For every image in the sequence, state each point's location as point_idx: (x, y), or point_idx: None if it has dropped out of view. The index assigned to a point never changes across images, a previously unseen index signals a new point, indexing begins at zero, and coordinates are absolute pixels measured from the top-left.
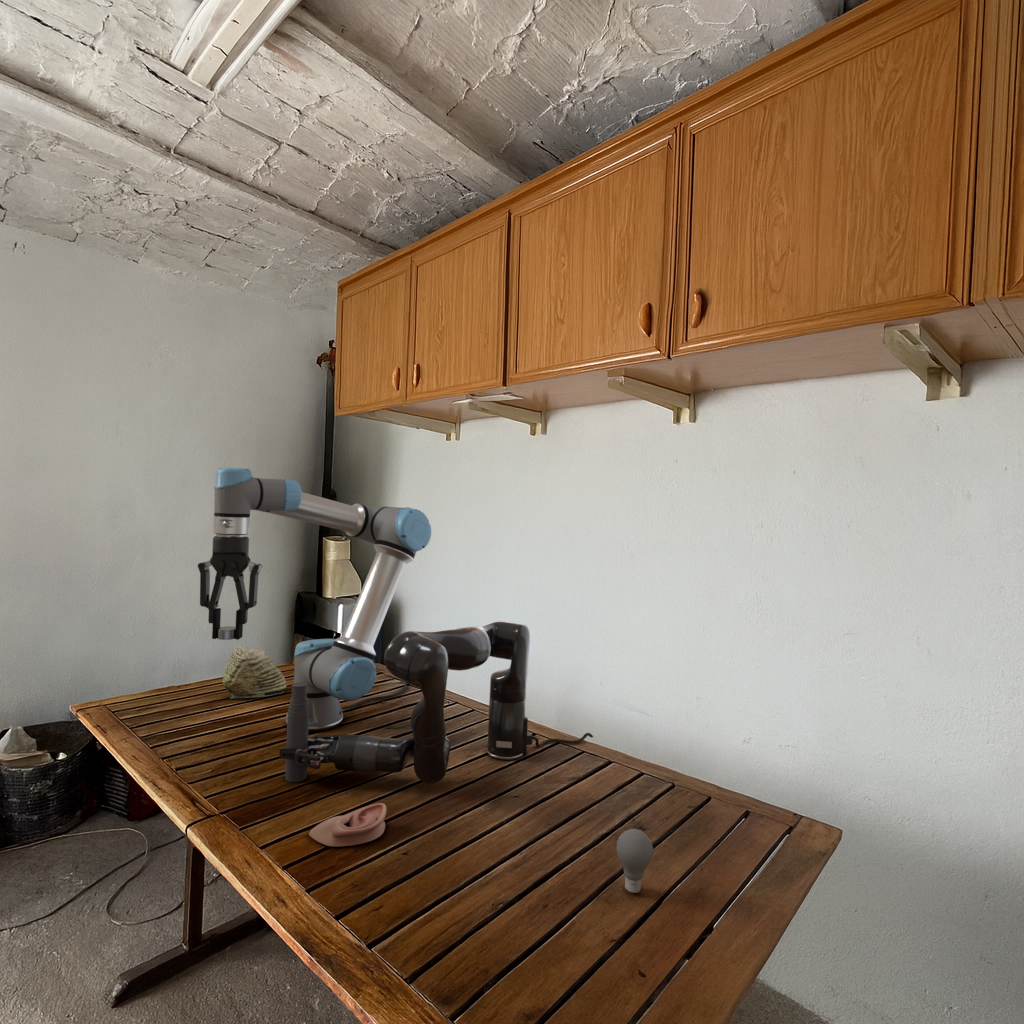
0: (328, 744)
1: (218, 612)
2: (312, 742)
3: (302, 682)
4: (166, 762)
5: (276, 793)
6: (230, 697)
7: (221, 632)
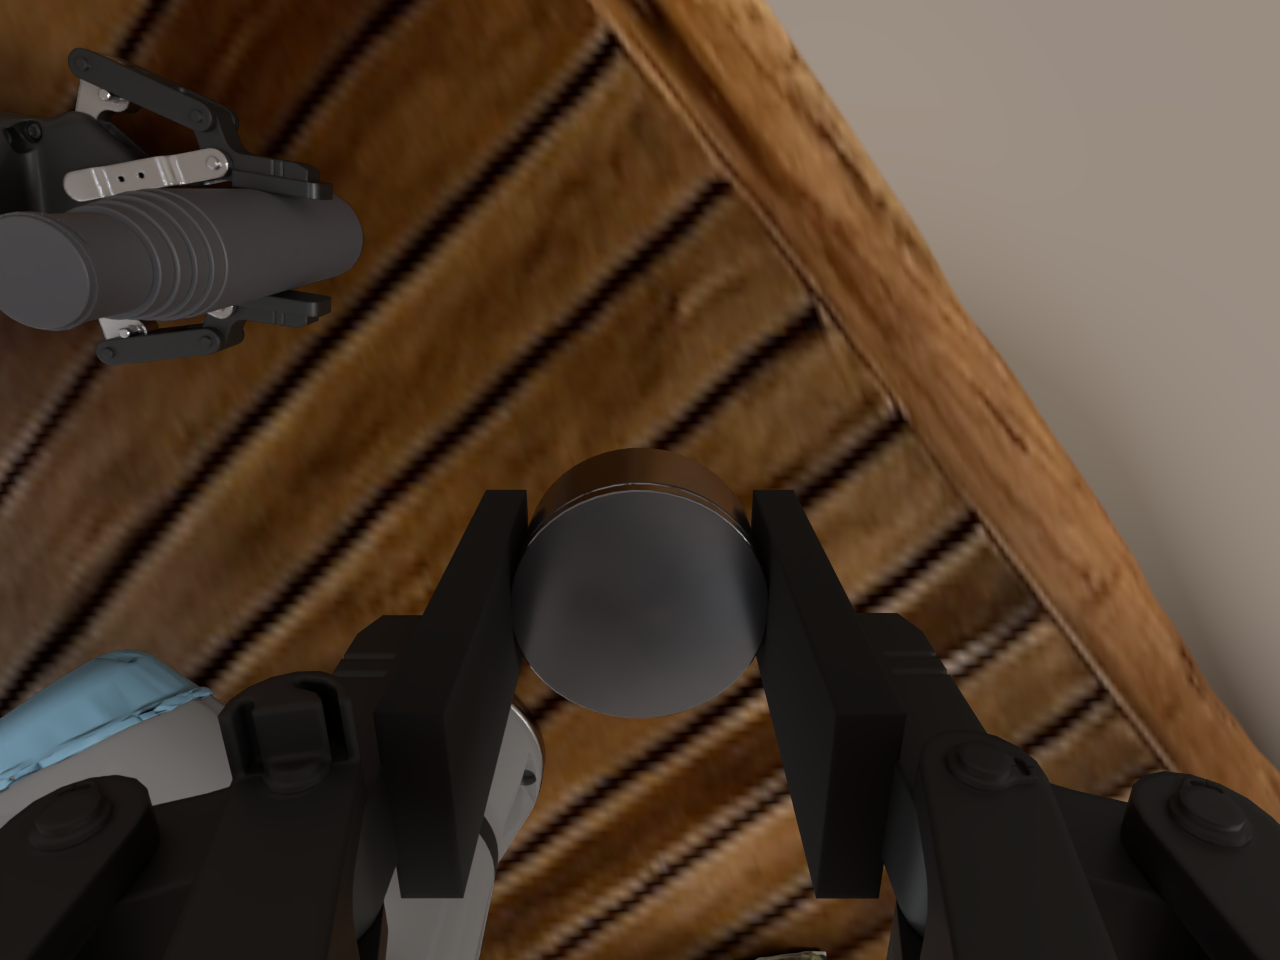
0: (68, 189)
1: (814, 761)
2: None
3: (33, 323)
4: (876, 382)
5: (344, 79)
6: (825, 955)
7: (679, 485)
